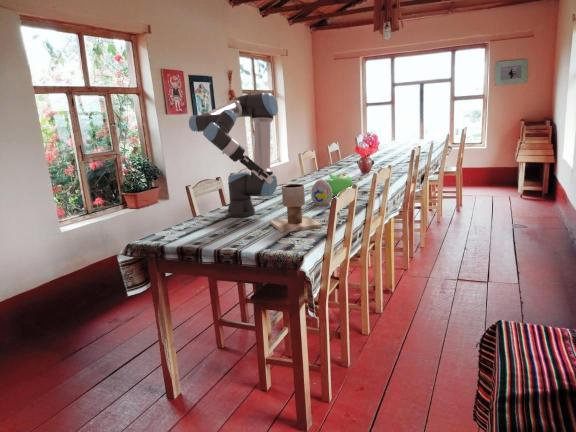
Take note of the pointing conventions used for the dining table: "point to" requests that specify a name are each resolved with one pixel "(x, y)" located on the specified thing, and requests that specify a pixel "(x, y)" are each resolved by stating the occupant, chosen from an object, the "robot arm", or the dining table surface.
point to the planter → (293, 195)
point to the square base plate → (295, 221)
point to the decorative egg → (321, 193)
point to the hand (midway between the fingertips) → (267, 179)
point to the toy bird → (339, 182)
